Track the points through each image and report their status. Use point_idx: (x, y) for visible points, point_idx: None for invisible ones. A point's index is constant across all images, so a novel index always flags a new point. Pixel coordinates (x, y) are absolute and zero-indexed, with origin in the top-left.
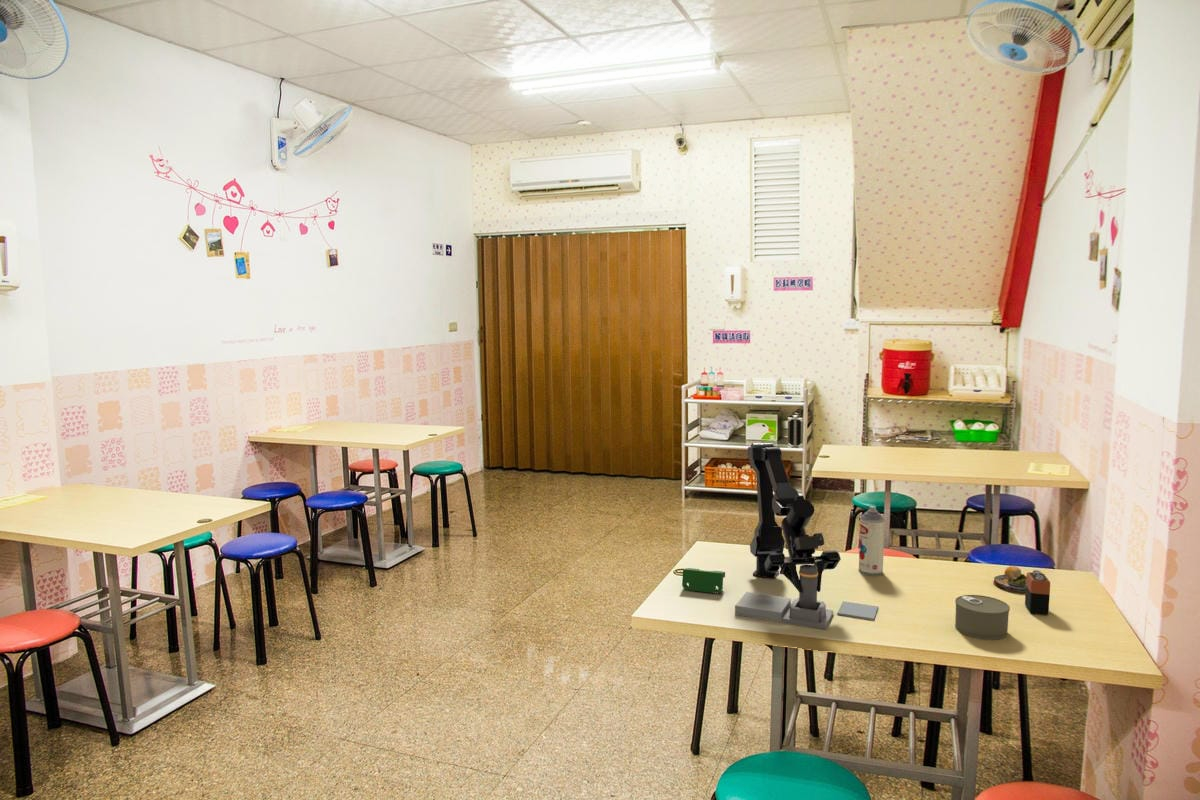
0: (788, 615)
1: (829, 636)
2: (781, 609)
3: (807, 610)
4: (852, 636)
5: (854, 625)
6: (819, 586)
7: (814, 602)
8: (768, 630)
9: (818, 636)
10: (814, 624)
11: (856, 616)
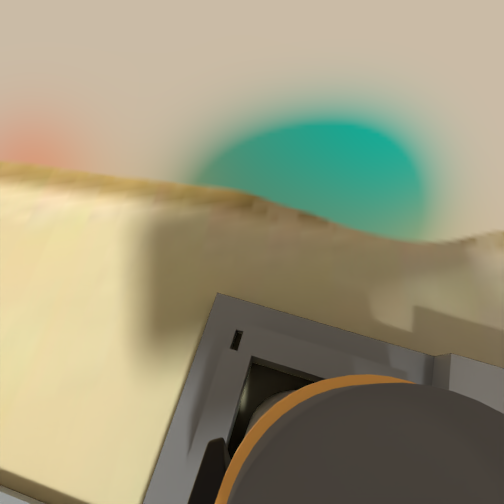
0: None
1: (215, 232)
2: None
3: (307, 346)
4: (121, 244)
5: (70, 369)
6: (211, 468)
7: (262, 406)
8: (464, 257)
9: (259, 227)
10: (267, 308)
11: (12, 494)
